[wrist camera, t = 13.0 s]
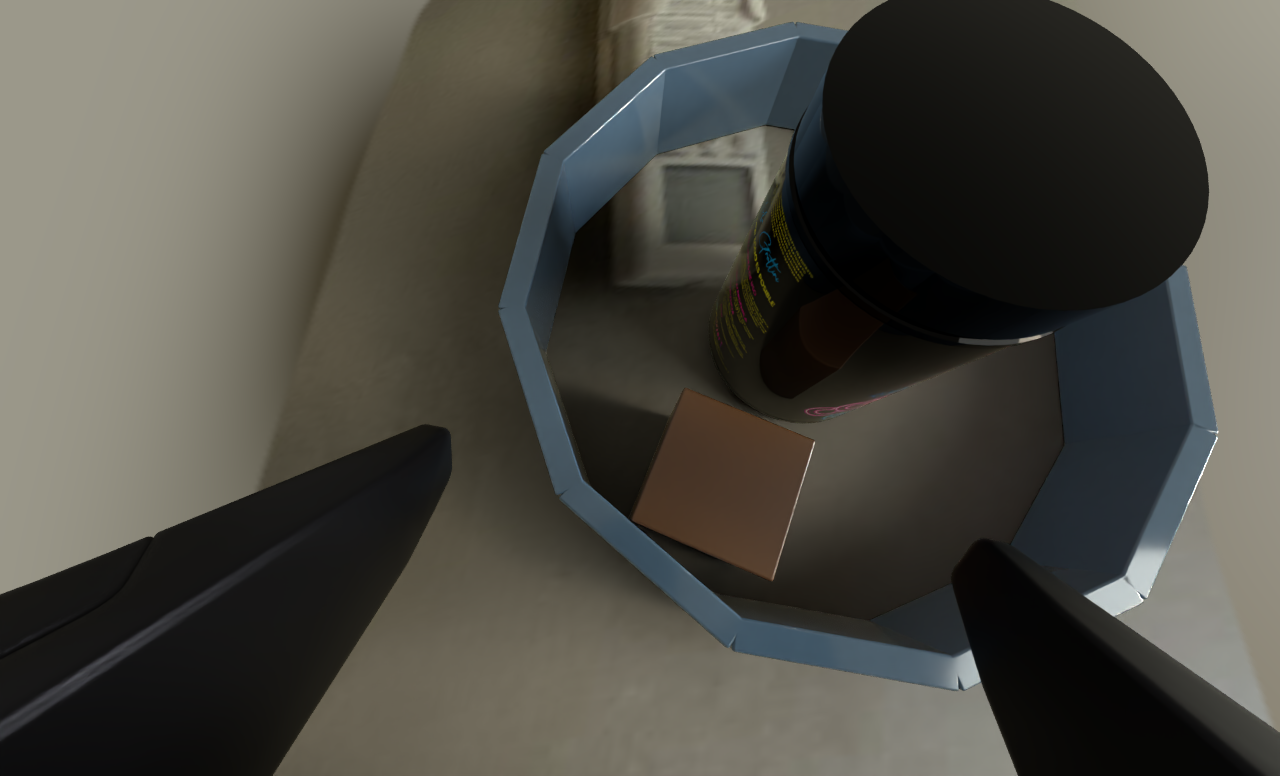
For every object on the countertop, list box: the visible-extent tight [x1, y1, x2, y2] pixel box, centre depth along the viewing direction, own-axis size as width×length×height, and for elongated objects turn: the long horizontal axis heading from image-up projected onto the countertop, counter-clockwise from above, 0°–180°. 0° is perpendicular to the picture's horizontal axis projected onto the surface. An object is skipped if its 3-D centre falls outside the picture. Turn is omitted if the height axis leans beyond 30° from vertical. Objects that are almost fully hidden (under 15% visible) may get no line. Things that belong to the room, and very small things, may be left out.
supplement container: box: [708, 0, 1209, 423], centre depth 13 cm, size 7×7×10 cm
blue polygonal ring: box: [498, 22, 1218, 691], centre depth 16 cm, size 22×22×4 cm
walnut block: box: [629, 388, 815, 581], centre depth 14 cm, size 4×4×4 cm
